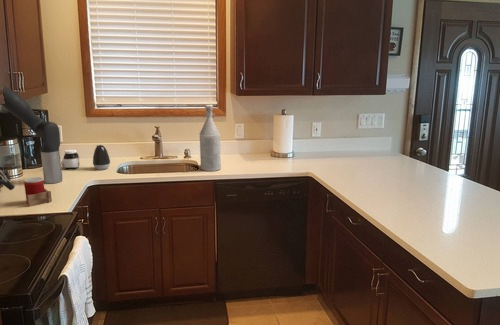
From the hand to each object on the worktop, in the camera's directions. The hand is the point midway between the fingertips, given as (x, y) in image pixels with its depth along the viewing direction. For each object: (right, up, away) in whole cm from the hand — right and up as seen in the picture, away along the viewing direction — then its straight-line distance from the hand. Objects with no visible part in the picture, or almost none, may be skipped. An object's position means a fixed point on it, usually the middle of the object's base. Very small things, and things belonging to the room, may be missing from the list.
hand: (12, 188), depth 192 cm
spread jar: (-3, +8, +68) cm, 69 cm away
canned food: (+10, -7, +1) cm, 12 cm away
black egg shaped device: (+18, +8, +66) cm, 68 cm away
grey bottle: (+86, +8, +66) cm, 109 cm away
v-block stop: (+14, -6, +1) cm, 15 cm away
